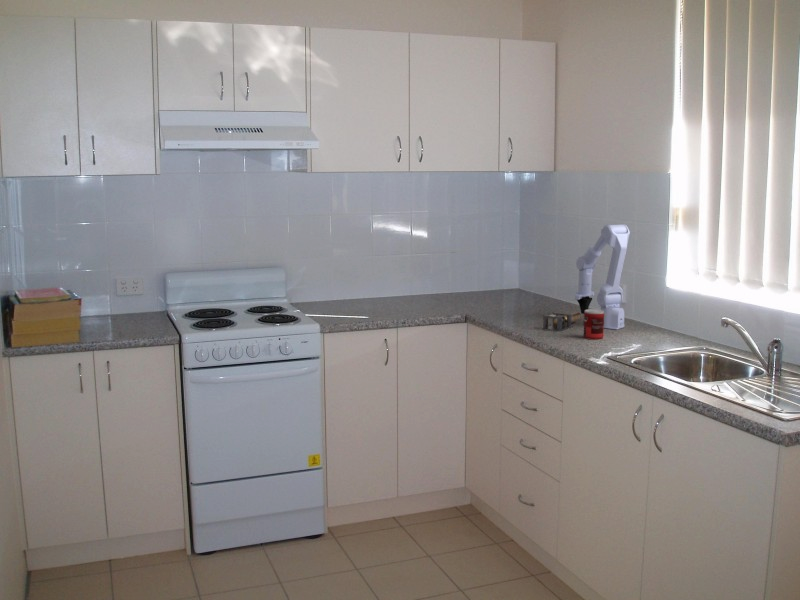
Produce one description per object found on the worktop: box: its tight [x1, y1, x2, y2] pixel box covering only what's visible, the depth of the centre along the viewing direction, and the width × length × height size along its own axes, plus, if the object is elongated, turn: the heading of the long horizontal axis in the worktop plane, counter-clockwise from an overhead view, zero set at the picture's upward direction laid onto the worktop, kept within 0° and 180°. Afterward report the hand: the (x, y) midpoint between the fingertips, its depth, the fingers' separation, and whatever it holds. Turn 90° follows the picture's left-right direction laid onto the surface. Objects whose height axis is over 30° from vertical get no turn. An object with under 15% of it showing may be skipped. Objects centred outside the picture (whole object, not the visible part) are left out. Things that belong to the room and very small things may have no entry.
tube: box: [554, 311, 582, 326], centre depth 359 cm, size 4×18×4 cm, turn 140°
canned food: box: [583, 308, 605, 341], centre depth 332 cm, size 8×8×11 cm
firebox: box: [541, 311, 573, 332], centre depth 352 cm, size 8×12×6 cm, turn 140°
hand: (584, 313), depth 370 cm, fingers closed
